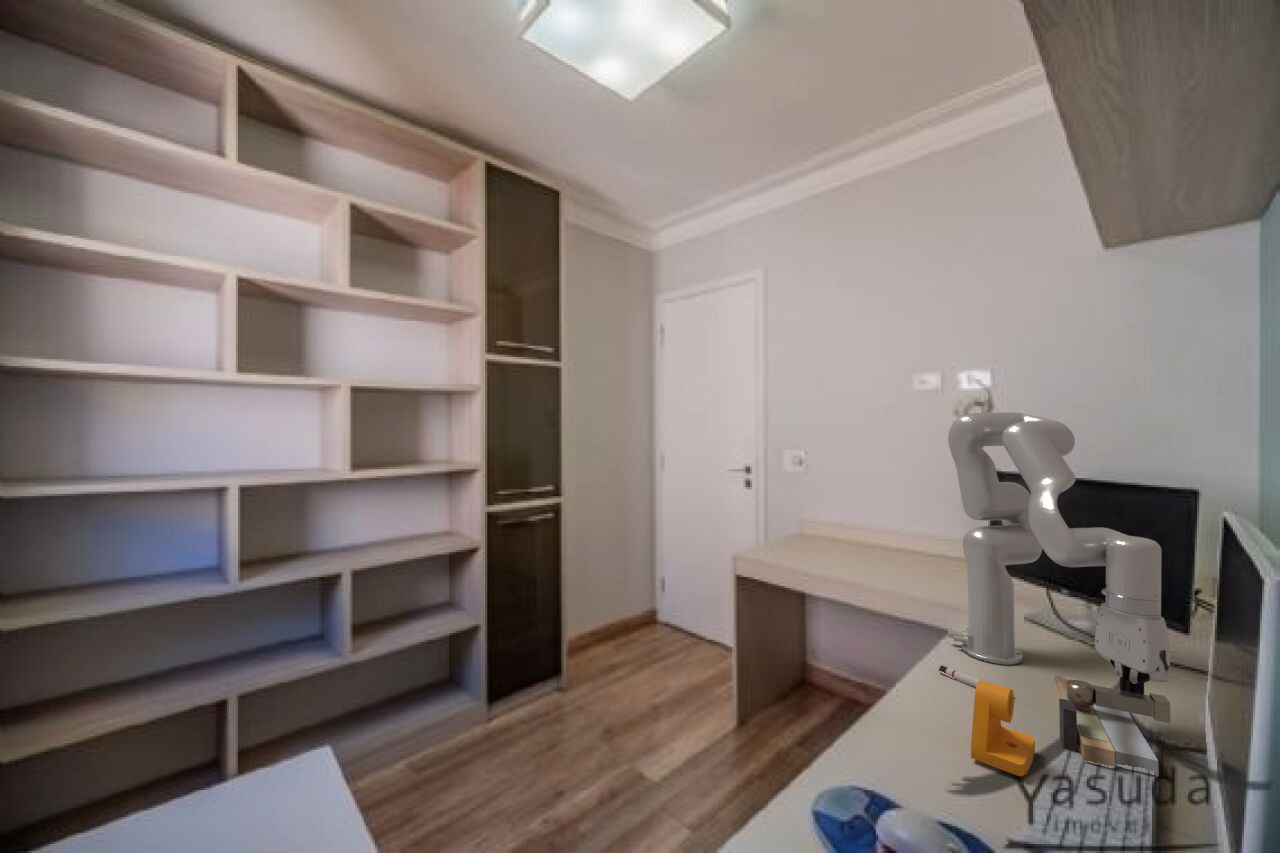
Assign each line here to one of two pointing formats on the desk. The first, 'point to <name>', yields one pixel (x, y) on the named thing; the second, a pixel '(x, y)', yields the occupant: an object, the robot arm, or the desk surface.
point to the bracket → (999, 731)
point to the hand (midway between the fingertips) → (1131, 700)
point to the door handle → (1119, 700)
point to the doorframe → (1102, 733)
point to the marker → (960, 676)
